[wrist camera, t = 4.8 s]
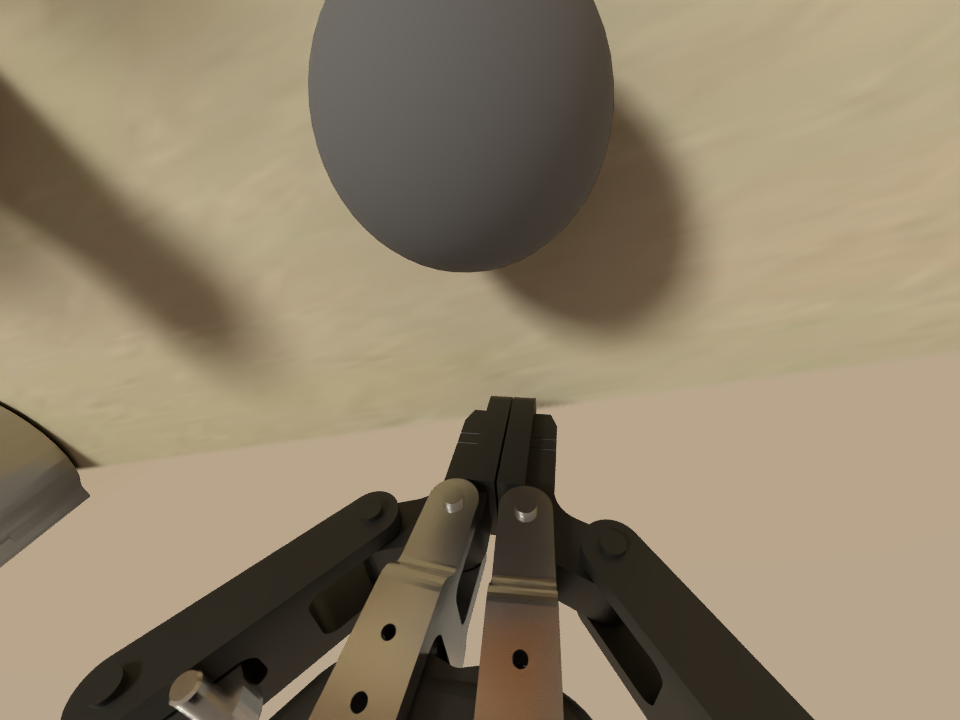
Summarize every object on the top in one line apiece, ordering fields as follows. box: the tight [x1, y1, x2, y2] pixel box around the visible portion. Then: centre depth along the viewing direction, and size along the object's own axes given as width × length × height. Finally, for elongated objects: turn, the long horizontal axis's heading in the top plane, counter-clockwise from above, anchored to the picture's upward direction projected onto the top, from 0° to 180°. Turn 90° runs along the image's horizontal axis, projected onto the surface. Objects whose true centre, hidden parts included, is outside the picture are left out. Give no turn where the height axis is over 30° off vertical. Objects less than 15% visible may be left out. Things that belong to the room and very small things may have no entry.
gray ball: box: [308, 0, 614, 272], centre depth 7 cm, size 6×6×6 cm
